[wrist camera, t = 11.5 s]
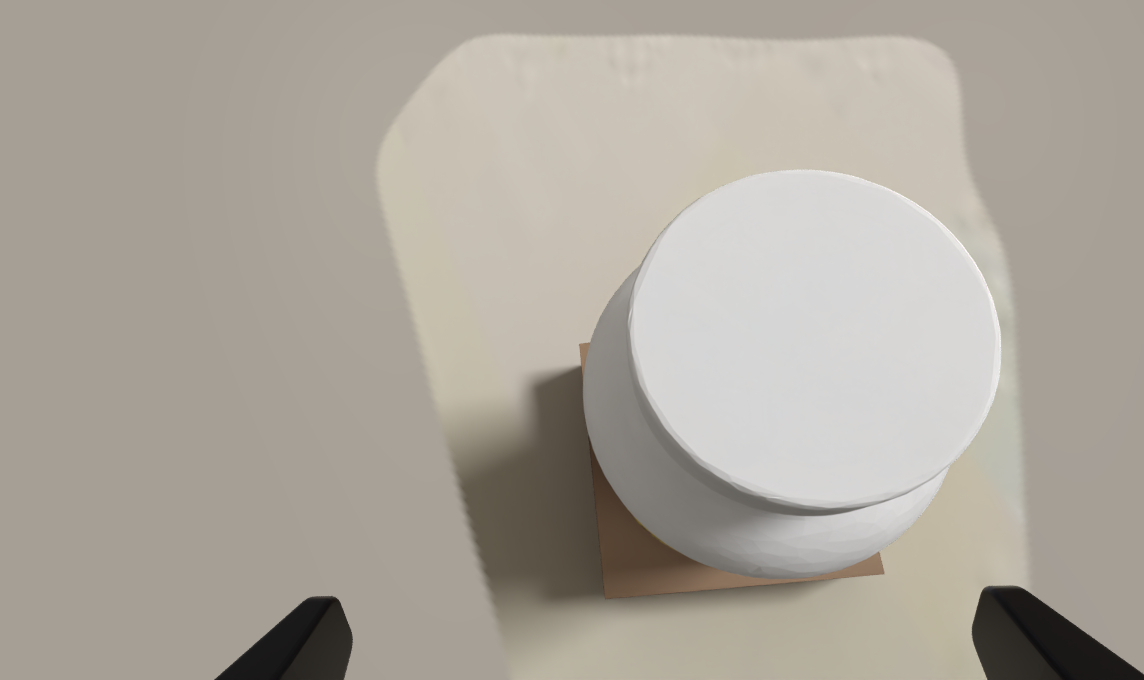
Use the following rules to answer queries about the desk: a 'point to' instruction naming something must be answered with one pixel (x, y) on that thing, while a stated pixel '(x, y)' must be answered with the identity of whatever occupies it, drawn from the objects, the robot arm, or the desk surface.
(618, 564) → the walnut plinth
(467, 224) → the desk surface
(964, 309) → the supplement bottle
